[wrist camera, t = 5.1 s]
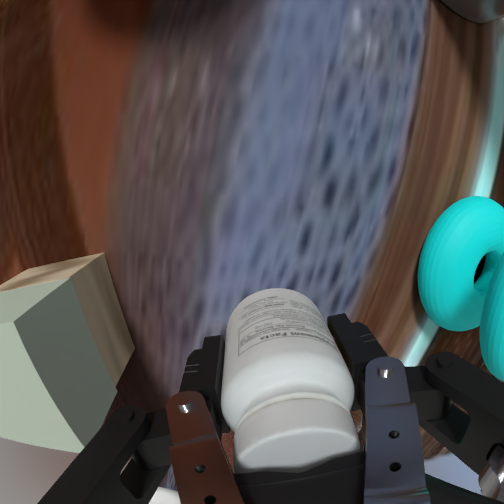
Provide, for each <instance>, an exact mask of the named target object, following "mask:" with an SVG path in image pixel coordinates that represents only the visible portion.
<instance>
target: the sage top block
mask: <svg viewBox="0 0 504 504" xmlns="http://www.w3.org/2000/svg"><path fill="white" fill-rule="evenodd" d="M117 392H118V391H117V389H116V387H115V385H114V383H113V381H112V379H111V377H110V375H109V373H108V371H107V369H106V367H105V364H104V362H103V360H102V358H101V356H100V353H99V351H98V349H97V346H96V344H95V342H94V339H93V337H92V335H91V332H90V330H89V327H88V325H87V322H86V319H85V317H84V314H83V311H82V309H81V306H80V303H79V300H78V298H77V295H76V292H75V289H74V286H73V283H72V280H71V278H66V279H61V280H56V281H51V282H47V283H42V284H37V285H32V286H27V287H22V288H17V289H13V290H8V291H3V292H0V437H2V438H6V439H10V440H14V441H18V442H22V443H26V444H31V445H35V446H41V447H46V448H51V449H56V450H63V451H69V452H76V453H80V452H81V451H82V450H83V449H84V448H85V446H86V445H87V444H88V443H89V442H90V440H91V439H92V438H93V437H94V436H95V434H96V433H97V432H98V431H99V430H100V428H101V426H102V424H103V422H104V420H105V417H106V415H107V413H108V411H109V409H110V407H111V404H112V402H113V400H114V398H115V396H116V394H117Z"/></svg>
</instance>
